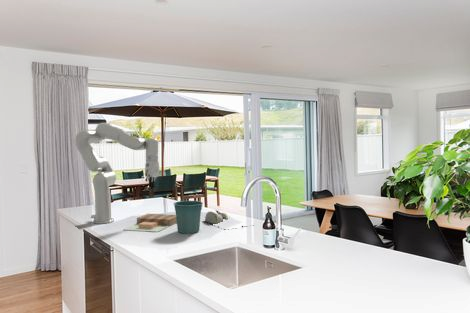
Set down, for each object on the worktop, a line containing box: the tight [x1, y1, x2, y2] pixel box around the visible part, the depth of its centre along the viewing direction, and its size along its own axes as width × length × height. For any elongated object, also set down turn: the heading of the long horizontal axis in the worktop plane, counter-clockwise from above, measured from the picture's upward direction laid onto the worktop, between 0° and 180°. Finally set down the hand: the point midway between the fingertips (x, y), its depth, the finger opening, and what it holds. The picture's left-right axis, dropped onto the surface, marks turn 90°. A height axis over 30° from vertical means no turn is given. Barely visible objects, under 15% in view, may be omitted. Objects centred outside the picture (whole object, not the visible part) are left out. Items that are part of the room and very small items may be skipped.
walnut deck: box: [136, 213, 177, 227], centre depth 237 cm, size 22×14×4 cm, turn 74°
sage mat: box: [123, 223, 170, 233], centre depth 223 cm, size 22×14×1 cm, turn 74°
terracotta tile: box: [138, 222, 157, 229], centre depth 224 cm, size 9×6×2 cm, turn 75°
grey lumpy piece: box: [201, 209, 228, 226], centre depth 235 cm, size 33×8×20 cm
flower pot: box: [173, 200, 204, 235], centre depth 214 cm, size 16×16×16 cm
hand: (151, 187), depth 236 cm, fingers closed
